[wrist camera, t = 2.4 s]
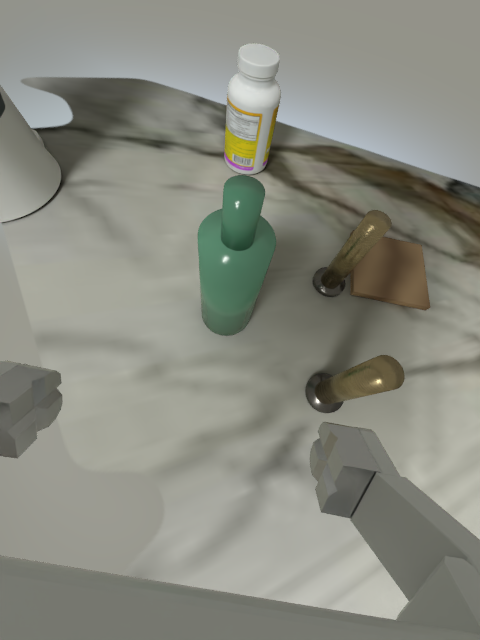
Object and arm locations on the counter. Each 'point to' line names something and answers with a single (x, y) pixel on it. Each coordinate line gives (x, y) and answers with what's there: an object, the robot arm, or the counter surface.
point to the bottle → (234, 256)
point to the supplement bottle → (252, 109)
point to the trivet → (392, 274)
